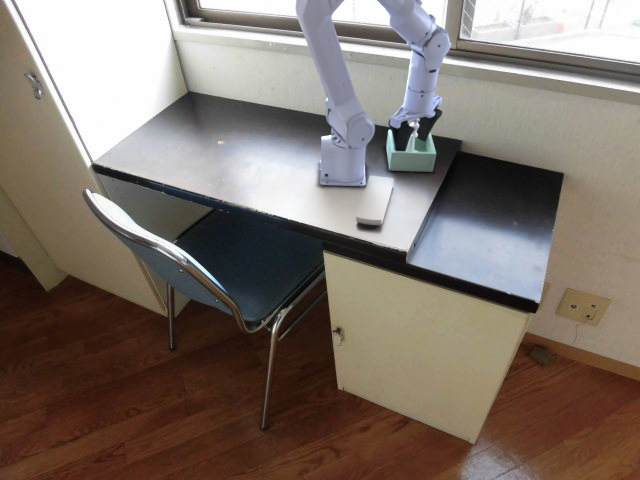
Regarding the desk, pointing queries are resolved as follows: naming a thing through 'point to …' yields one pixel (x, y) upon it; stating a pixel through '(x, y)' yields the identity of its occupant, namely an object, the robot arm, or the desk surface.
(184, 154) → the desk surface
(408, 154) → the open storage box
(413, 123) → the chess piece
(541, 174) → the desk surface
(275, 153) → the desk surface
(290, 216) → the desk surface
